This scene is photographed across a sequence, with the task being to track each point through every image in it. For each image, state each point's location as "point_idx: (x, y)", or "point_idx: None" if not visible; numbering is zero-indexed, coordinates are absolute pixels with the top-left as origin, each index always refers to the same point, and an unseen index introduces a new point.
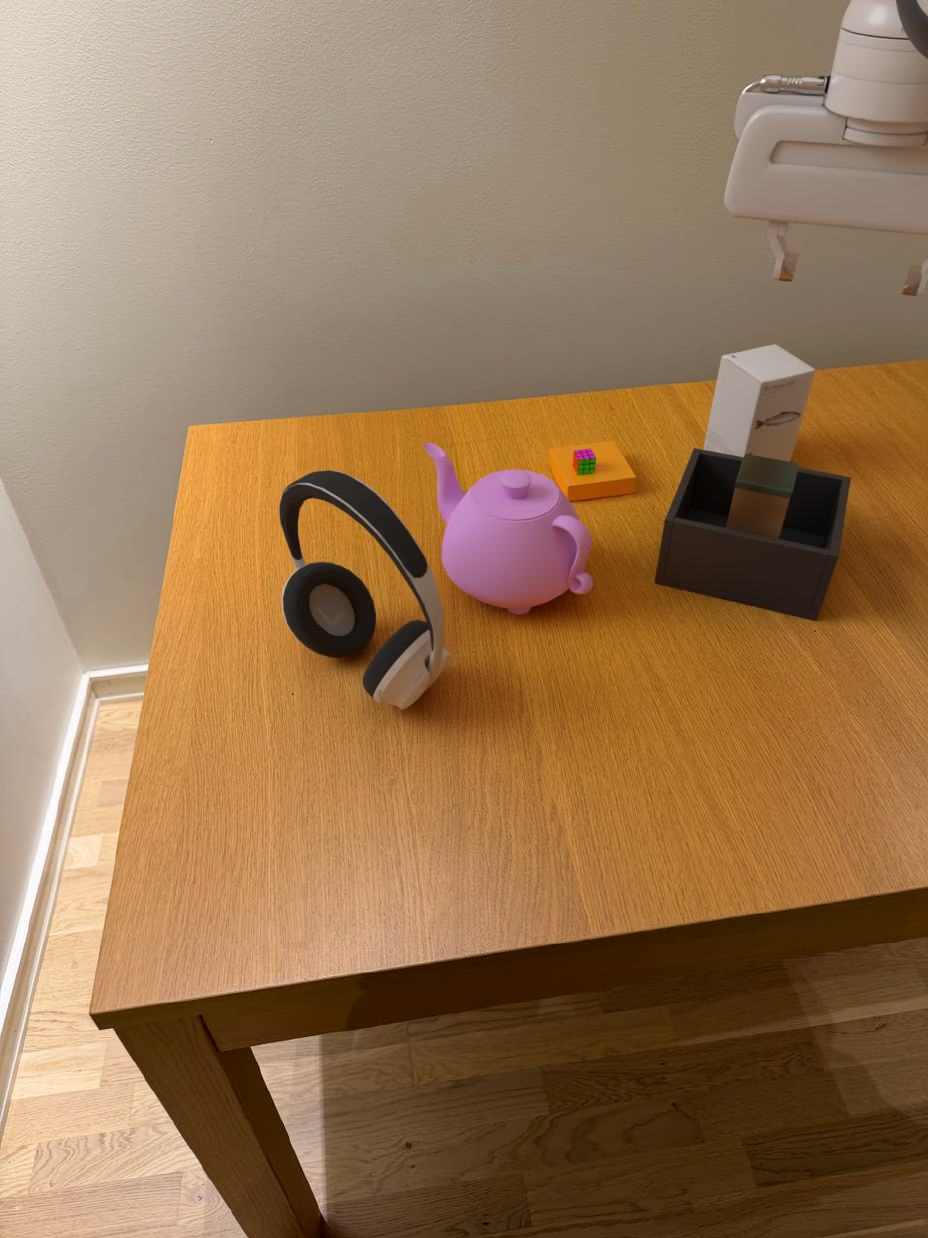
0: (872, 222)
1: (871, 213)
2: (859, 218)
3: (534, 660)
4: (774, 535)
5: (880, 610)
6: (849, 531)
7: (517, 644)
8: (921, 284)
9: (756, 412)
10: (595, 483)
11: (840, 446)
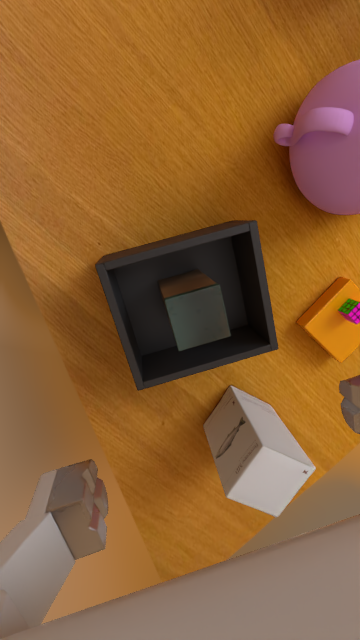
0: (259, 580)
1: (294, 622)
2: (327, 571)
3: (275, 58)
4: (164, 287)
5: (67, 300)
6: (129, 379)
7: (296, 69)
8: (47, 490)
9: (250, 425)
10: (330, 298)
11: (180, 475)
